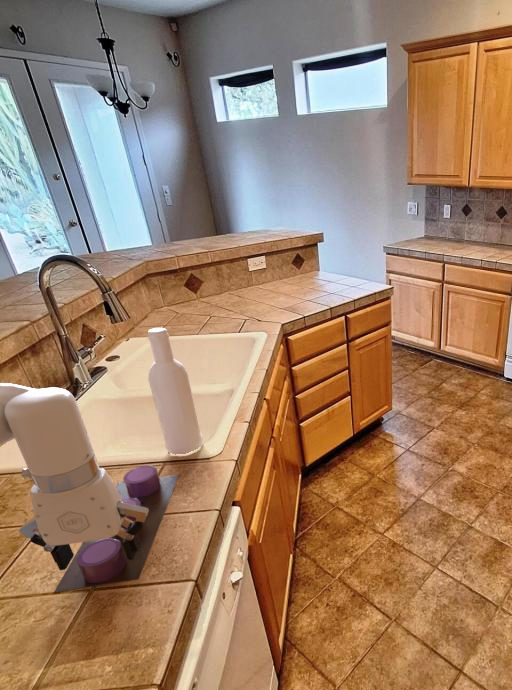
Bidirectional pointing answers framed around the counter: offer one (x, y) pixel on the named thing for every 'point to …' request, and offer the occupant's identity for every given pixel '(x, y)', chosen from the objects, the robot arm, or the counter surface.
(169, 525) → the counter surface
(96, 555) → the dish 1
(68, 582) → the dark grey board
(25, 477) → the robot arm
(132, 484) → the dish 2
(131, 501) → the dish centre
